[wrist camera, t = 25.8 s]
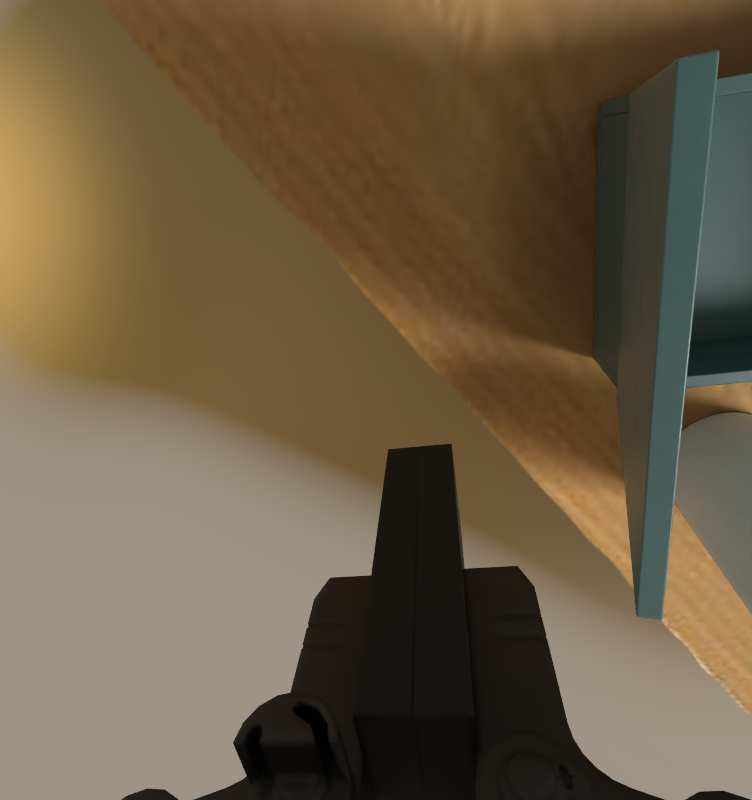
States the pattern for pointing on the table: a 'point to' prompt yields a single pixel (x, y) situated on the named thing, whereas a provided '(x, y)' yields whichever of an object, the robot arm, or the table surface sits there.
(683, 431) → the canister
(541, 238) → the table surface
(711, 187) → the chest
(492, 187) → the table surface
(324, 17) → the table surface
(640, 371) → the chest lid
